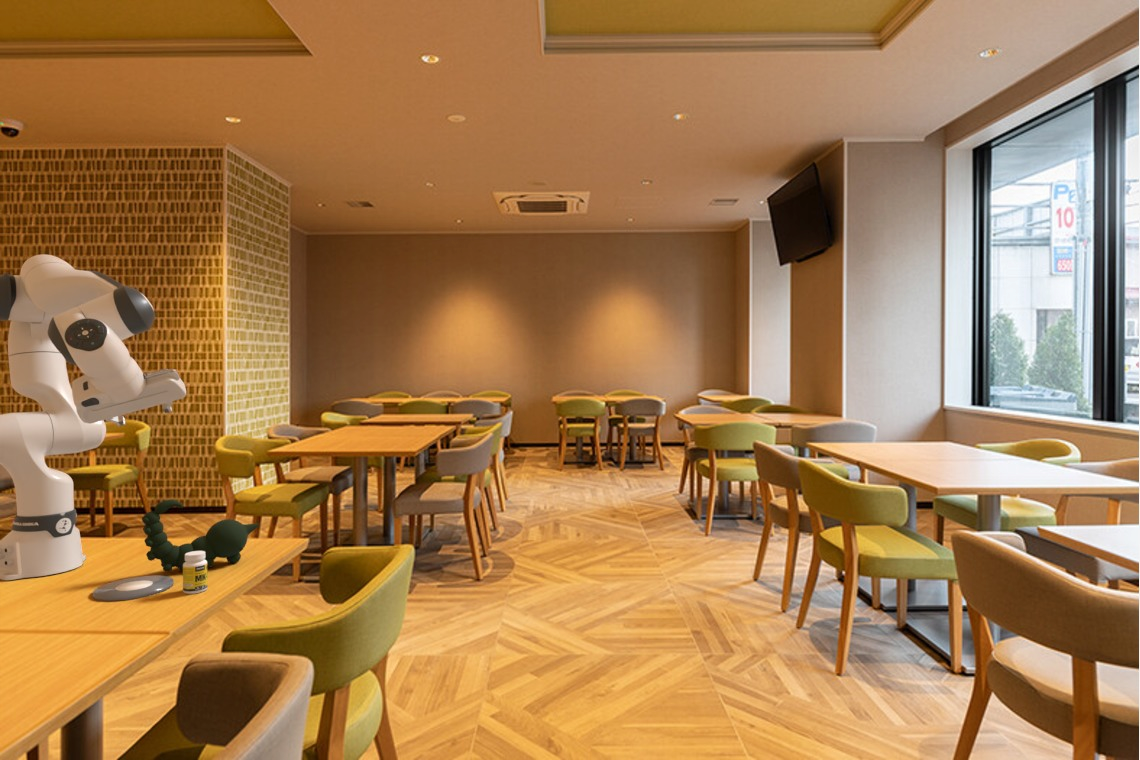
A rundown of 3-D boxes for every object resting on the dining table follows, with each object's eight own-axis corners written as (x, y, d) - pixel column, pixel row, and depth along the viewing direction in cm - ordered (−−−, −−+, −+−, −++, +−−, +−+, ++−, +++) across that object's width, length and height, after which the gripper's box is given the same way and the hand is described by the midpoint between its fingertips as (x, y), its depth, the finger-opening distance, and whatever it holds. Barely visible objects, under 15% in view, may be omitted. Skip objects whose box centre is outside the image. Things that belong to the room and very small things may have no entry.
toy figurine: (152, 588, 155) (267, 559, 169) (141, 508, 153) (258, 486, 168) (148, 578, 162) (258, 551, 177) (138, 501, 161) (250, 481, 176)
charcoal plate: (75, 597, 144) (75, 593, 144) (138, 576, 158) (138, 572, 158) (129, 604, 139) (129, 599, 139) (189, 581, 154) (189, 578, 154)
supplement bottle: (196, 595, 145) (196, 556, 144) (177, 593, 146) (177, 555, 145) (212, 587, 149) (212, 550, 149) (194, 586, 150) (193, 549, 150)
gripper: (172, 355, 145) (193, 392, 156) (63, 383, 138) (93, 419, 149) (176, 377, 142) (197, 413, 153) (65, 407, 135) (96, 442, 146)
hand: (145, 416), depth 151 cm, fingers open, 8 cm apart
